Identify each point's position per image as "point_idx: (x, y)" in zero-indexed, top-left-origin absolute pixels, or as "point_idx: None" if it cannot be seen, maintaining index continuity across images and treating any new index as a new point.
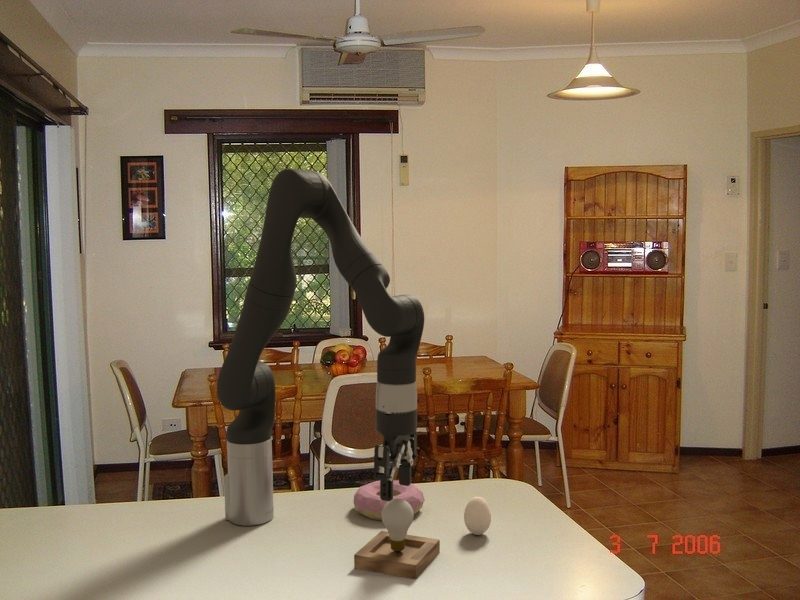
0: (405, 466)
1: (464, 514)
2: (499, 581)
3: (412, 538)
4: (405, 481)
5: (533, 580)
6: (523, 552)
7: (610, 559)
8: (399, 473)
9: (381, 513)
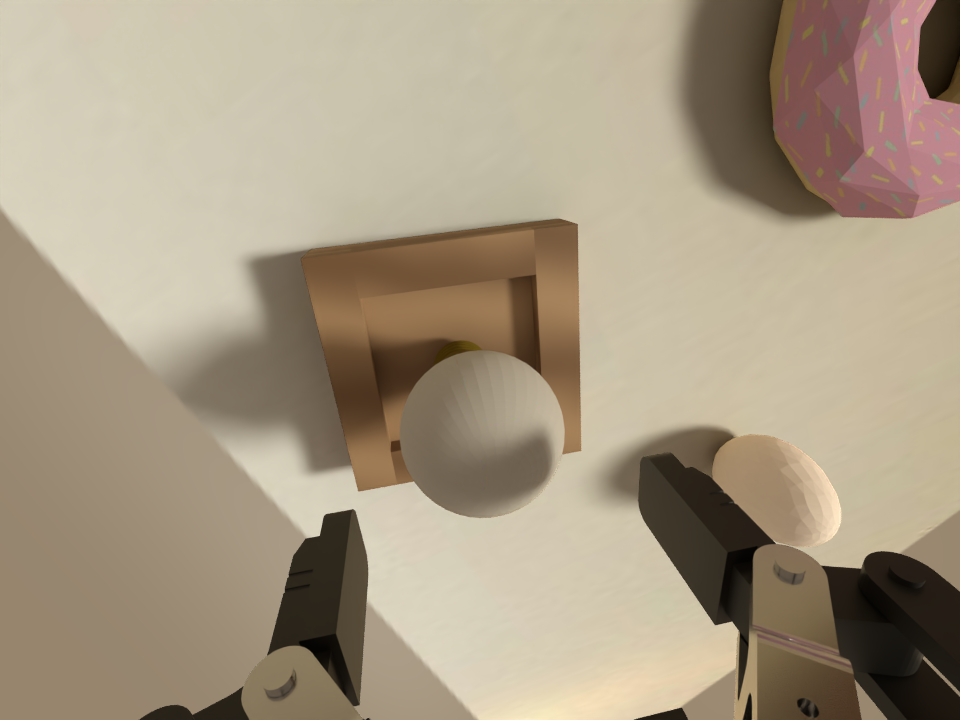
0: (721, 595)
1: (761, 463)
2: (465, 616)
3: (554, 371)
4: (654, 506)
5: (506, 660)
6: (646, 585)
7: (668, 709)
8: (686, 505)
9: (779, 97)
